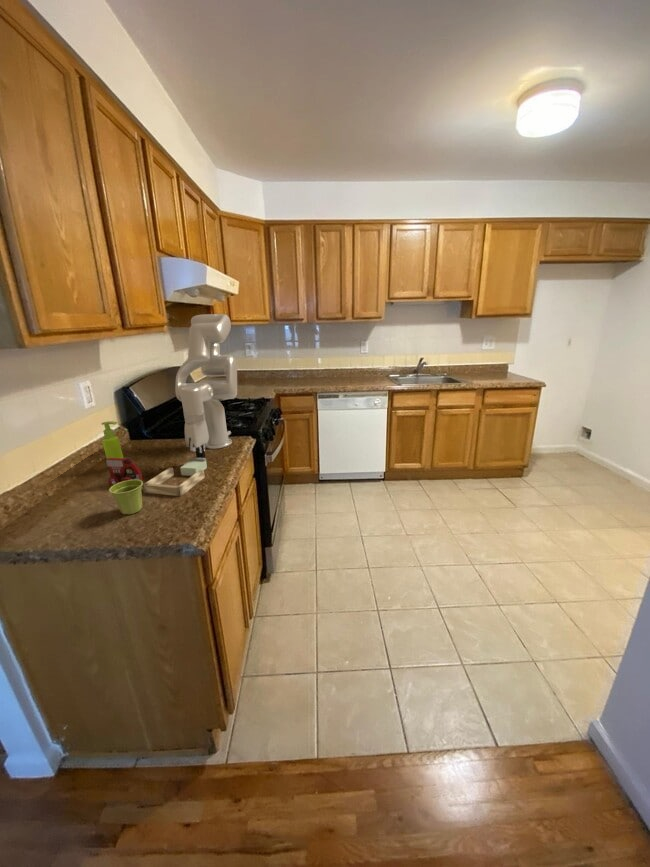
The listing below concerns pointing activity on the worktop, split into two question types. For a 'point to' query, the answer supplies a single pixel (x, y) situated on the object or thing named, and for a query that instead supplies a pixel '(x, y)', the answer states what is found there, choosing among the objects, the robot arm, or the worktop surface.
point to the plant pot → (128, 495)
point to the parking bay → (158, 488)
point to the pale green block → (193, 466)
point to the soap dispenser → (111, 442)
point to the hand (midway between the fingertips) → (201, 460)
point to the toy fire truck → (123, 470)
